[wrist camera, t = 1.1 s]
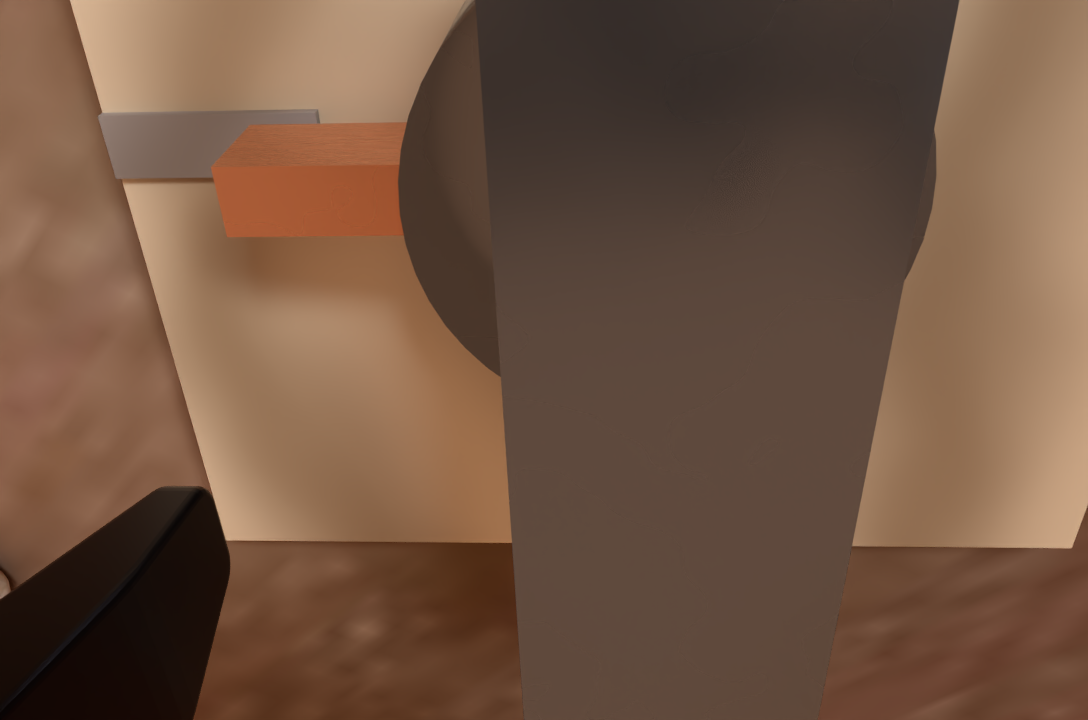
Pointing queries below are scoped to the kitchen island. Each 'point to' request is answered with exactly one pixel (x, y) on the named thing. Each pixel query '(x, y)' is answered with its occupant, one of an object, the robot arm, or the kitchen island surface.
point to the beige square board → (475, 391)
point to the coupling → (655, 310)
